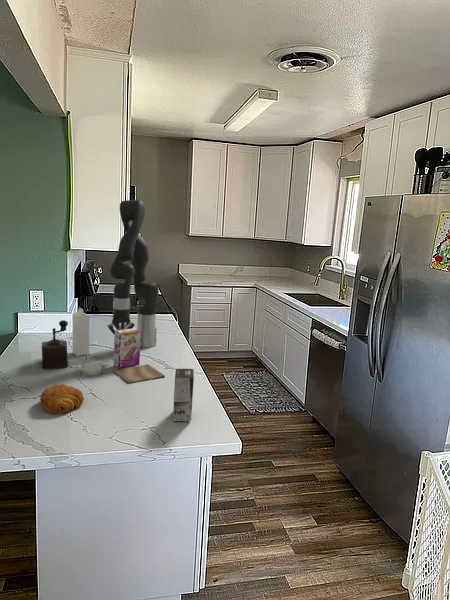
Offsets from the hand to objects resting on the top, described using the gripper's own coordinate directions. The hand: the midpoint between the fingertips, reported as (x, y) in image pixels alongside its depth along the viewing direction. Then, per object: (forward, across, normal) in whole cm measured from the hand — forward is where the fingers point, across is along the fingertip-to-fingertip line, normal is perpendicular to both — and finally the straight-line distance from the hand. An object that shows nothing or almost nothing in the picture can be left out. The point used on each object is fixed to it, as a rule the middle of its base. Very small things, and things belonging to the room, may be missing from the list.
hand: (120, 343), depth 207 cm
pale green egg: (+8, +17, +9) cm, 21 cm away
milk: (+8, +13, -17) cm, 23 cm away
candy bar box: (+8, 0, +7) cm, 11 cm away
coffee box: (+8, +3, +63) cm, 64 cm away
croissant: (+9, +37, +36) cm, 52 cm away
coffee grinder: (+8, +27, -9) cm, 29 cm away
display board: (+8, 0, +20) cm, 21 cm away
